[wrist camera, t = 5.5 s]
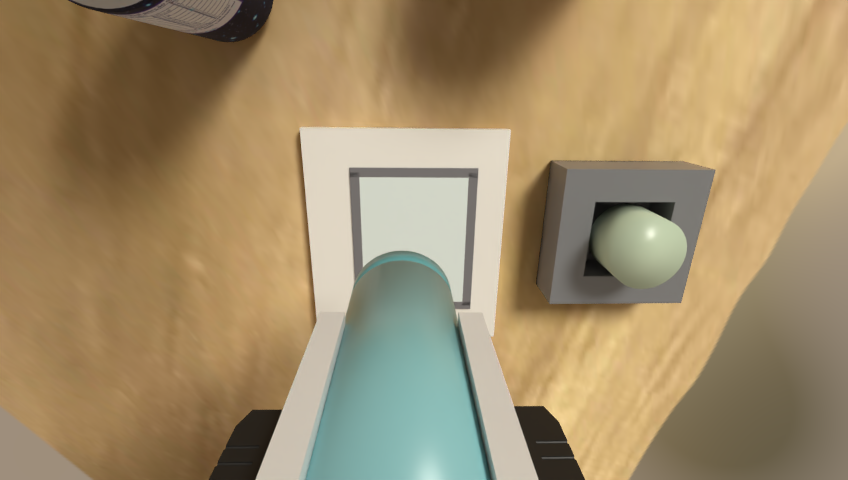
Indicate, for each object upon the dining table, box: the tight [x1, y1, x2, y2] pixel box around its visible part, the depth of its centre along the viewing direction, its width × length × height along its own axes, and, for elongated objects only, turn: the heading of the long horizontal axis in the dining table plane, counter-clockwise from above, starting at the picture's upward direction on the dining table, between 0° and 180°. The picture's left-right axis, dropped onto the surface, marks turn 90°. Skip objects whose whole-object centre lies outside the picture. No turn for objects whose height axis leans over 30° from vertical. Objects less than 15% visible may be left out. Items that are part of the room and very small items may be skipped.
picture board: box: [300, 127, 511, 336], centre depth 28 cm, size 15×13×1 cm
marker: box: [306, 251, 491, 480], centre depth 11 cm, size 4×4×12 cm
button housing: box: [536, 161, 715, 304], centre depth 27 cm, size 9×9×3 cm
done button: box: [589, 203, 687, 289], centre depth 25 cm, size 4×4×3 cm
